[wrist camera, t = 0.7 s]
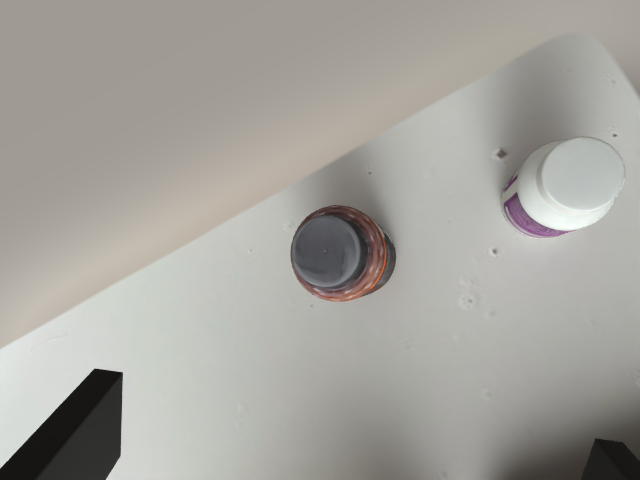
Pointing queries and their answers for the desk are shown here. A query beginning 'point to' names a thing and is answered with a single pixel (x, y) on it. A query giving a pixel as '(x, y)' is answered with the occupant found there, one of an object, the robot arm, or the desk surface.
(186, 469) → the desk surface
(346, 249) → the supplement bottle
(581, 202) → the pill bottle
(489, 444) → the desk surface
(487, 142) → the desk surface
